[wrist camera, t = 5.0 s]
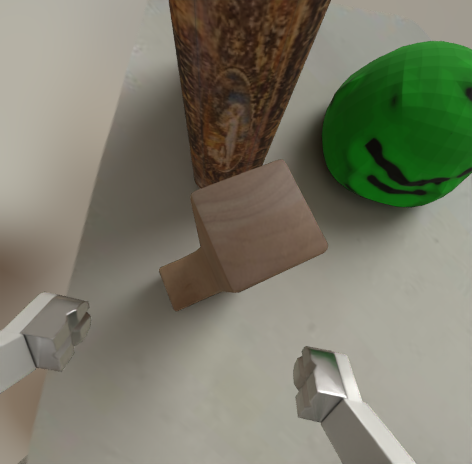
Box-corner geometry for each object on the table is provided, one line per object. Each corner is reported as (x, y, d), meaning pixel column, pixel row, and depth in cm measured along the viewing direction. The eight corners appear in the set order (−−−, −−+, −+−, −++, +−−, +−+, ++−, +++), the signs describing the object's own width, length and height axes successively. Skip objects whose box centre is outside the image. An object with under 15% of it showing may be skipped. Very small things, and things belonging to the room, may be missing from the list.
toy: (303, 190, 24) (365, 123, 15) (325, 80, 28) (388, -34, 18) (433, 226, 25) (577, 186, 15) (440, 115, 28) (562, 22, 18)
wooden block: (236, 242, 23) (285, 154, 8) (251, 276, 22) (333, 248, 7) (166, 272, 21) (72, 233, 7) (180, 308, 21) (111, 351, 6)
